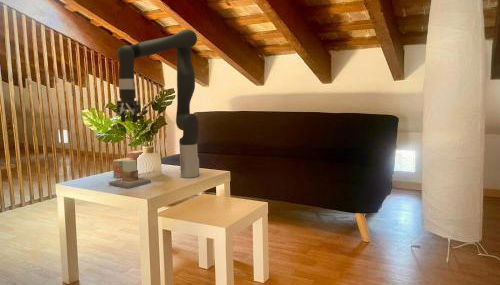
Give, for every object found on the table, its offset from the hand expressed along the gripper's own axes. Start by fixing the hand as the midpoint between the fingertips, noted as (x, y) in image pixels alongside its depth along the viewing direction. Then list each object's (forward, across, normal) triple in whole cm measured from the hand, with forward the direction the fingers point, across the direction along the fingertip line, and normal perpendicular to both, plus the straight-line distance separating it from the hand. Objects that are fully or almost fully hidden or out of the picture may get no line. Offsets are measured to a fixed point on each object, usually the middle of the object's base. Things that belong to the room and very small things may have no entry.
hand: (129, 122), depth 191 cm
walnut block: (+28, -1, +2) cm, 29 cm away
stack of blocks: (+30, +16, -14) cm, 37 cm away
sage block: (+24, -1, +2) cm, 24 cm away
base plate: (+30, -1, +2) cm, 30 cm away
